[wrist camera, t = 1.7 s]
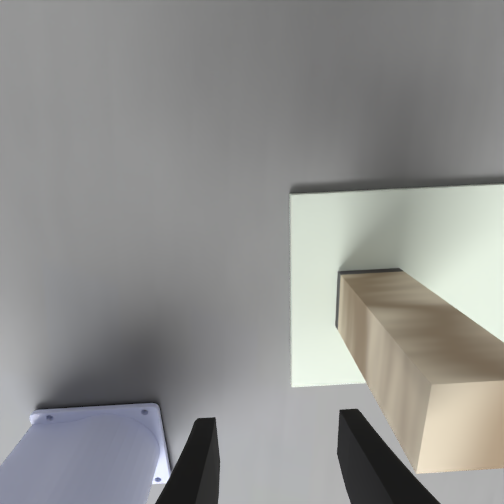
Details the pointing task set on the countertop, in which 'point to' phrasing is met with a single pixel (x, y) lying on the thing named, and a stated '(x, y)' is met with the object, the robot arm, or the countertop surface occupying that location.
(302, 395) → the countertop surface
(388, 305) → the birch block
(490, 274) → the sage board
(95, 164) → the countertop surface
